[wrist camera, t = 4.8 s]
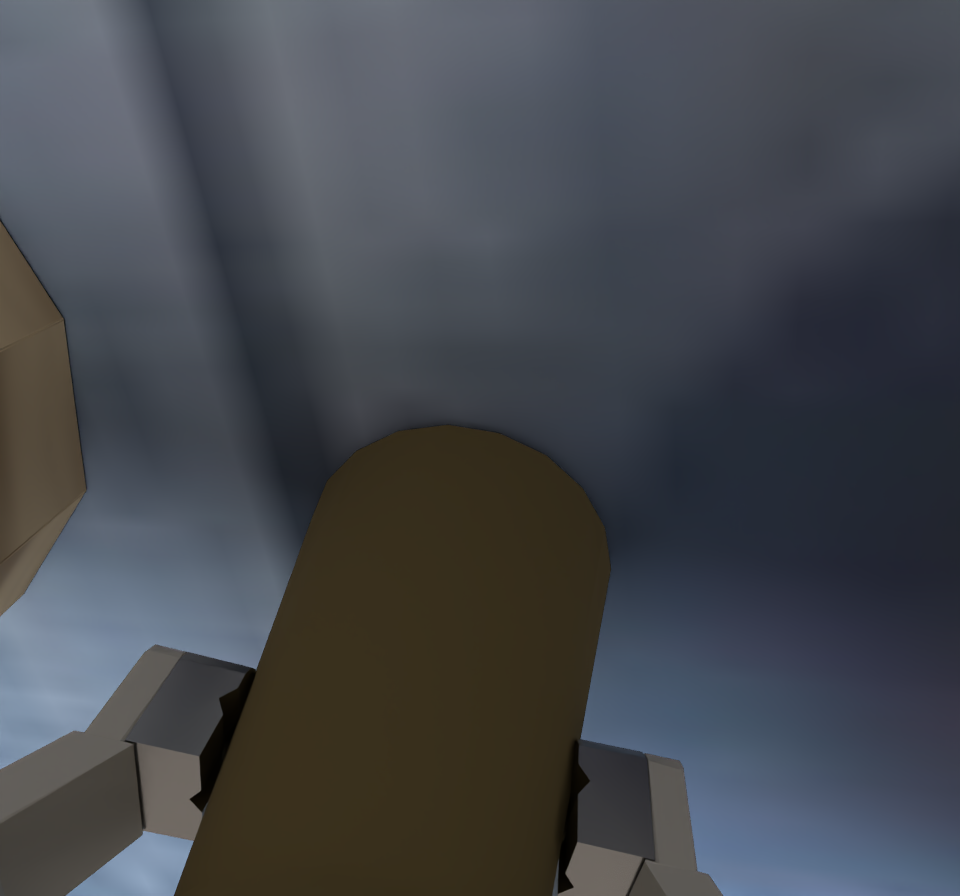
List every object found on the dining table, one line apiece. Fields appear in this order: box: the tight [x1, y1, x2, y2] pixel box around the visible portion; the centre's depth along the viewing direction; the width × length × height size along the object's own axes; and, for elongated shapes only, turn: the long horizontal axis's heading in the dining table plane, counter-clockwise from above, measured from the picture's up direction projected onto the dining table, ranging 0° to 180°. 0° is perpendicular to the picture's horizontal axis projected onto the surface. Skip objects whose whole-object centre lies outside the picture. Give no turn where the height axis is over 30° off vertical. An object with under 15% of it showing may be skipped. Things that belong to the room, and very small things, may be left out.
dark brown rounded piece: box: [174, 425, 611, 896], centre depth 10 cm, size 6×6×11 cm
